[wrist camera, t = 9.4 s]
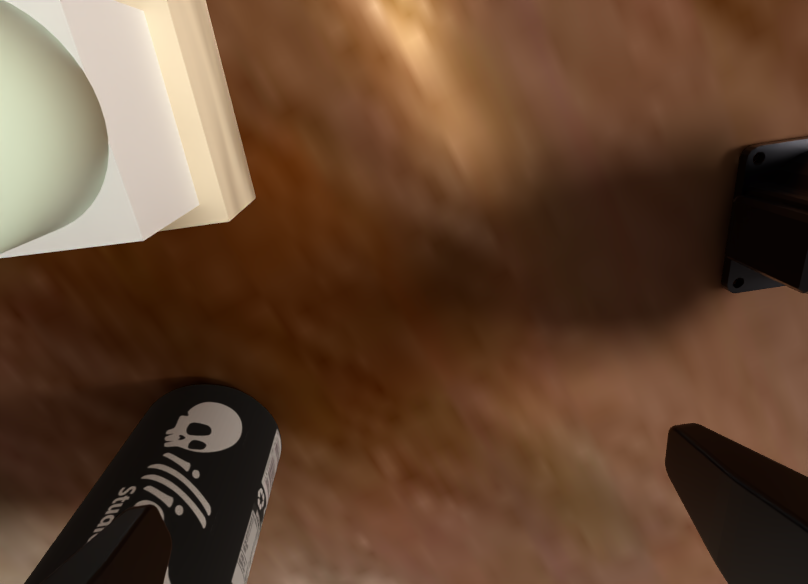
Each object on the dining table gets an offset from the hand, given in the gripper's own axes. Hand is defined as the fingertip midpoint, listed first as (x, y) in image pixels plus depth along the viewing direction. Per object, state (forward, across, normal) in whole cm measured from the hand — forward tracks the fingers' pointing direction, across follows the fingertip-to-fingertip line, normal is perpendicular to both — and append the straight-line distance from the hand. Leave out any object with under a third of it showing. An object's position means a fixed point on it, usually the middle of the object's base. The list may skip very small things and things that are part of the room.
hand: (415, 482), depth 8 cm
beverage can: (+13, +10, +8) cm, 18 cm away
